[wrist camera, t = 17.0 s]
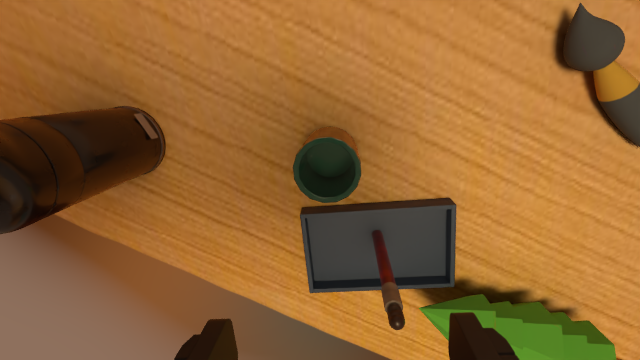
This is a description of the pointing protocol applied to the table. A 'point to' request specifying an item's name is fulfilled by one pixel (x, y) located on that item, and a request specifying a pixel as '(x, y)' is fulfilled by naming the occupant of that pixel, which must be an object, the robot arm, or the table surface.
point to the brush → (388, 283)
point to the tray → (400, 239)
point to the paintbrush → (605, 68)
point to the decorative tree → (528, 329)
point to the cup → (327, 165)
